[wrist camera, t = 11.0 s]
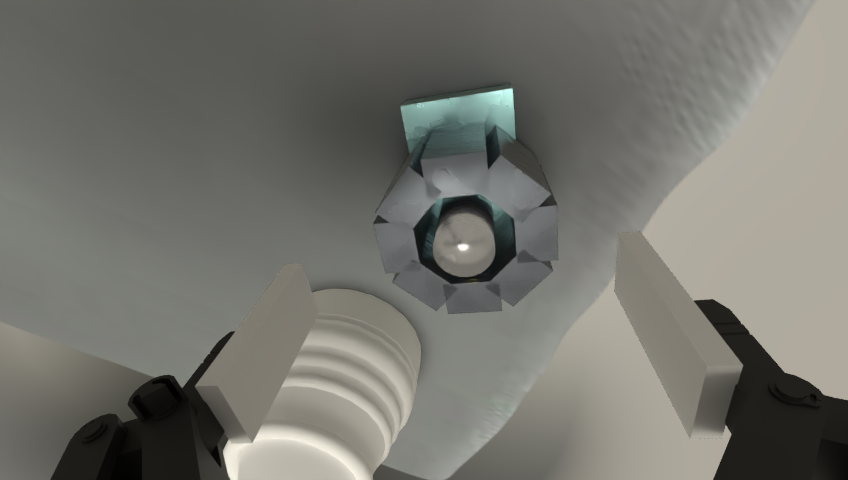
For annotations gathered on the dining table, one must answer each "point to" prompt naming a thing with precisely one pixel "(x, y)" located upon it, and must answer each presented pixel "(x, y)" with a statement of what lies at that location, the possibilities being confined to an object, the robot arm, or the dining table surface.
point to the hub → (459, 176)
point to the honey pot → (337, 396)
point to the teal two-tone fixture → (472, 214)
